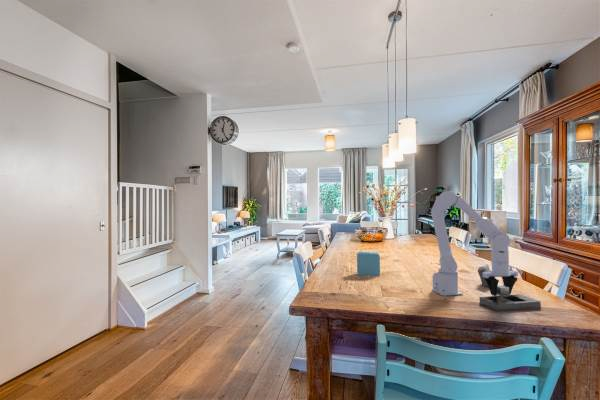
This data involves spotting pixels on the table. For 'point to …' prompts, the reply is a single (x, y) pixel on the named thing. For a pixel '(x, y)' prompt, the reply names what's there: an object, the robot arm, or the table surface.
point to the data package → (368, 263)
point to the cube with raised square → (502, 290)
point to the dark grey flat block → (510, 302)
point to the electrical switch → (480, 270)
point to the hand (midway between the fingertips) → (500, 294)
